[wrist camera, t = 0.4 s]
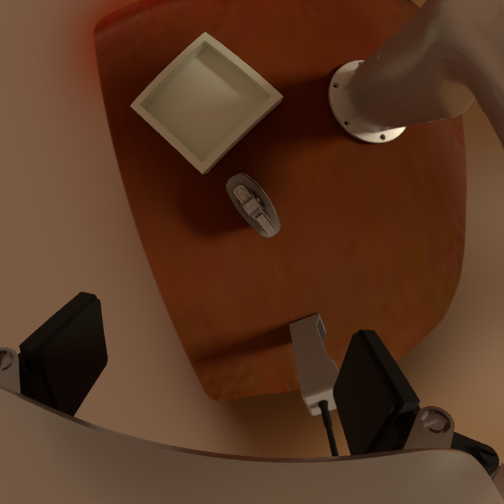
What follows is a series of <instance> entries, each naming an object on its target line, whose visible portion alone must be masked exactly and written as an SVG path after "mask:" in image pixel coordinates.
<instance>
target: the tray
mask: <svg viewBox="0 0 504 504" xmlns="http://www.w3.org/2000/svg"><path fill="white" fill-rule="evenodd" d="M282 98H283V96H282V95H281V94H280V93H279V92H278V91H277V90H276V89H275V88H274V87H273V86H271V85H270V84H269V83H268V82H267V81H266V80H265V79H264V78H262V77H261V76H260V75H259V74H258V73H257V72H256V71H254V70H253V69H252V68H251V67H250V66H248V65H247V64H246V63H245V62H244V61H242V60H241V59H240V58H239V57H237V56H236V55H235V54H234V53H232V52H231V51H230V50H229V49H227V48H226V47H225V46H223V45H222V44H221V43H220V42H218V41H217V40H216V39H214V38H213V37H211V36H210V35H209V34H207V33H206V32H204V33H203V34H202V35H201V36H200V37H199V38H197V39H196V40H195V41H194V42H193V43H192V44H190V45H189V46H188V47H187V48H186V49H185V50H184V51H183V52H182V53H180V54H179V55H178V56H177V57H176V58H175V59H174V60H173V61H172V62H171V63H170V64H169V65H168V66H167V67H166V68H165V69H164V70H163V71H162V72H161V73H160V74H159V75H158V76H157V77H156V78H155V79H154V80H153V81H152V82H151V83H150V84H149V85H148V86H147V87H146V88H145V90H144V91H143V92H142V93H141V94H140V95H139V96H138V97H137V98H136V100H135V101H134V102H133V103H132V104H131V105H130V107H132V108H133V109H134V110H135V111H136V112H137V113H138V114H139V115H140V116H141V117H142V118H143V119H145V120H146V121H147V122H148V123H149V124H150V125H151V126H152V127H153V128H154V129H155V130H156V131H157V132H158V133H160V134H161V135H162V136H163V137H164V138H165V139H166V140H167V141H168V142H169V143H170V144H171V145H172V146H173V147H174V148H175V149H176V150H178V151H179V152H180V153H181V154H182V155H183V156H184V157H185V158H186V159H187V160H188V161H189V162H190V163H191V164H192V165H193V166H194V167H195V168H196V169H197V170H199V171H200V172H201V173H202V174H206V173H208V172H209V171H210V170H211V169H212V168H213V167H214V166H215V165H216V164H217V163H218V162H219V161H220V160H221V159H222V158H223V157H224V156H225V155H226V154H227V153H228V152H229V151H230V150H231V149H232V148H233V147H234V146H235V145H236V144H237V143H238V142H239V141H240V140H241V139H242V138H243V137H244V136H245V135H246V134H247V133H248V132H249V131H250V130H251V129H252V128H253V127H254V126H256V125H257V124H258V123H259V122H260V121H261V120H262V119H263V118H264V117H265V116H266V115H267V114H268V113H270V112H271V111H272V110H273V109H274V108H275V107H276V106H277V105H278V104H280V103H281V101H282Z"/></svg>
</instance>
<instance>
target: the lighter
mask: <svg viewBox="0 0 504 504" xmlns="http://www.w3.org/2000/svg"><path fill="white" fill-rule="evenodd" d="M226 190H227V192H228V194H229V196H230V198H231V200H232V202H233V204H234V205H235V207H236V208H237V210H238V211H239V213H240V214H241V216H242V217H243V218H244V219H245V220H246V221H247V222H248V223H249V224H250V225H251V226H252V227H253V228H254V229H255V230H256V231H257V232H258V233H260V234H261V235H262V236H264V237H272V236H274V235H276V234H277V233H278V232H279V230H280V226H281V224H280V220H279V218H278V216H277V214H276V211H275V209H274V207H273V205H272V203H271V201H270V199H269V198H268V196H267V195H266V193H265V192H264V190H263V189H262V188H261V187H260V186H259V185H258V184H257V183H256V182H255V181H254V180H253V179H252V178H251V177H250V176H248V175H247V174H245V173H240V174H237V175H234V176H233V177H231V178H230V179H229V180H228V182H227V184H226Z"/></svg>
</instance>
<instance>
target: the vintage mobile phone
mask: <svg viewBox="0 0 504 504" xmlns="http://www.w3.org/2000/svg"><path fill="white" fill-rule="evenodd" d="M289 327H290V333H291V338H292V344H293V349H294V355H295V360H296V366H297V371H298V377H299V383H300V389H301V395H302V398H303V400H304V402H305V404H306V406H307V408H308V410H309V412H310V414H311V415H313V416H314V415H318V414H321V413H322V417H323V422H324V426H325V428H326V430H327V435H328V439H329V444H330V448H331V453H332V457H335V456H339V455H338V451H337V447H336V443H335V439H334V434H333V430H332V422H331V417H330V414H329V411H330V410H332V409H335V408H337V407H336V404H335V401H334V398H333V387H334V385H335V382H336V379H337V377H338V374H339V370H338V368H337V366H336V364H335V363H334V361H333V359H331V358H330V357H328V356H327V353H326V350H325V347H324V344H323V342H324V339H325V336H326V331H325V329H324V326H323V323H322V320H321V317H320V315H319V313H317V314H315V315H312V316H310V317H307V318H305V319H302V320H299V321H297V322H294V323H291V324H289Z"/></svg>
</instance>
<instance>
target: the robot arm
mask: <svg viewBox="0 0 504 504" xmlns="http://www.w3.org/2000/svg"><path fill="white" fill-rule="evenodd" d="M333 85H335V86H336V88H335V87H334V86H333ZM474 98H475V99H476V100H477V102H478V104H479V105H480V107H481V109H482V110H483V112H485V114H486V116H487V118H488V119H489V121H490V123H491V125H492V127H493V129H494V131H495V133H496V135H497V136H498V138H499V141H500V142H501V145H502V147H503V149H504V0H426V1H425V2H424V4H423V5H422V7H421V8H420V9H419V10H418V12H417V13H416V14H415V15H414V16H413V17H412V18H411V19H410V21H409V22H408V23H406V24H405V25H404V26H403V27H402V28H401V29H400V30H399V31H398V32H396V33H395V34H394V35H393V36H392V37H391V38H389V39H388V40H387V41H386V42H385V43H384V44H383V45H381V46H380V47H379V48H378V49H377V50H376V51H375V52H373V53H372V54H371V55H370V56H369V57H368V58H367V59H366V60H357V61H352V62H349V63H346V64H345V65H343V66H342V67H340V68H339V69H338V70H337V71H336V73H335V74H334V75H333V77H332V79H331V81H330V84H329V89H328V100H329V105H330V108H331V111H332V114H333V116H334V117H335V119H336V121H337V122H338V123H339V124H340V126H341V127H342V128H343V129H344V130H345V131H346V132H347V133H349V134H350V135H352V136H353V137H355V138H356V139H359V140H361V141H364V142H368V143H385V142H388V141H391V140H393V139H395V138H397V137H398V136H399V135H400V134H401V133H402V132H403V131H404V129H405V128H406V127H407V126H412V125H417V124H422V123H428V122H433V121H439V120H444V119H449V118H453V117H456V116H458V115H460V114H462V113H463V112H464V111H465V110H466V109H467V108H468V107H469V106H470V105H471V103H472V102H473V100H474ZM344 122H346V123H347V125H345V124H344ZM380 136H381V139H380ZM19 347H20V351H21V352H20V353H19V354H17V353H16V352H15V351H14V350H13V349H10V348H0V504H504V464H503V463H502V464H501V465H500V466H499V458H498V455H497V453H496V452H495V450H494V449H493V448H491V447H490V446H488V445H486V444H483V443H480V442H478V441H475V440H473V439H470V438H468V437H466V436H463V435H461V434H458V433H456V432H454V421H453V418H452V417H451V415H450V414H449V413H447V412H446V411H445V410H443V409H441V408H439V407H435V406H427V407H423V408H422V409H420V407H419V405H418V404H419V402H420V400H419V398H418V397H417V395H416V393H415V392H414V390H413V389H412V387H411V385H410V384H409V382H408V381H407V379H406V378H405V376H404V374H403V373H402V371H401V370H400V368H399V367H398V365H397V364H396V362H395V360H394V359H393V357H392V356H391V354H390V353H389V351H388V350H387V348H386V347H385V345H384V344H383V342H382V341H381V339H380V338H379V336H378V335H377V333H376V332H375V331H374V330H358V332H357V333H354V334H353V335H352V338H351V341H350V344H349V347H348V350H347V353H346V355H345V358H344V361H343V364H342V366H341V369H340V372H339V374H338V377H337V379H336V382H335V385H334V387H333V398H334V401H335V404H336V407H337V411H338V414H339V417H340V420H341V424H342V427H343V430H344V434H345V437H346V440H347V444H348V447H349V451H350V454H351V455H350V456H335V457H316V458H272V457H253V456H241V455H230V454H221V453H213V452H206V451H199V450H193V449H187V448H182V447H176V446H171V445H166V444H162V443H158V442H153V441H149V440H145V439H141V438H137V437H133V436H130V435H126V434H122V433H119V432H116V431H113V430H110V429H106V428H103V427H100V426H97V425H94V424H92V423H89V422H86V421H83V420H81V419H78V418H75V417H74V415H75V413H76V412H77V410H78V408H79V407H80V405H81V404H82V402H83V400H84V399H85V397H86V396H87V394H88V392H89V391H90V389H91V388H92V386H93V385H94V383H95V382H96V380H97V379H98V377H99V376H100V374H101V372H102V371H103V369H104V368H105V366H106V365H107V359H108V356H107V350H106V343H105V336H104V329H103V321H102V311H101V303H100V300H99V299H97V297H96V295H95V294H89V293H85V292H80V293H79V294H78V295H77V296H76V297H74V298H73V299H72V300H71V301H69V302H68V303H67V304H66V305H65V306H63V307H62V308H61V309H60V310H59V311H58V312H56V313H55V314H54V315H53V316H52V317H51V318H50V319H48V320H47V321H46V322H45V323H44V324H43V325H42V326H40V327H39V328H38V329H37V330H36V331H35V332H34V333H33V334H31V335H30V336H29V337H28V338H27V339H26V340H25V341H24V342H23V343H22V344H21V345H19Z"/></svg>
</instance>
